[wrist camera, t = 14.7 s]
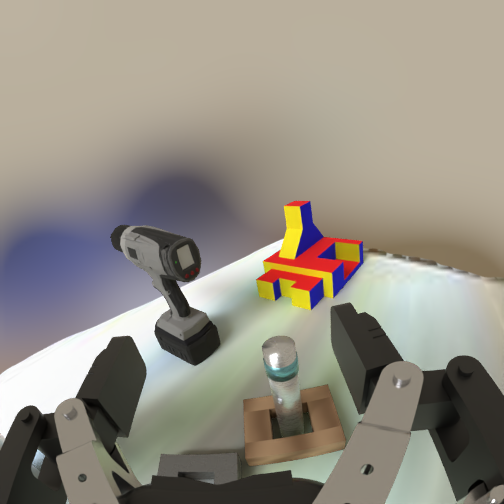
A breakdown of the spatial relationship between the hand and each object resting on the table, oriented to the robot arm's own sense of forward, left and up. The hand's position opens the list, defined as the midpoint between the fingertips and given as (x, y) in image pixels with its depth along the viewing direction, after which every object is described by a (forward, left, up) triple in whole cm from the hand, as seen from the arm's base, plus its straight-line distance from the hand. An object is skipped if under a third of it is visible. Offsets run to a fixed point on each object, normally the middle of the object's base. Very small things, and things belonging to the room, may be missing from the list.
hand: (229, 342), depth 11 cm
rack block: (+2, +13, -28) cm, 30 cm away
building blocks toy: (+14, +55, -28) cm, 63 cm away
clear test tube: (+2, +13, -28) cm, 30 cm away
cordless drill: (-18, +38, -28) cm, 50 cm away
